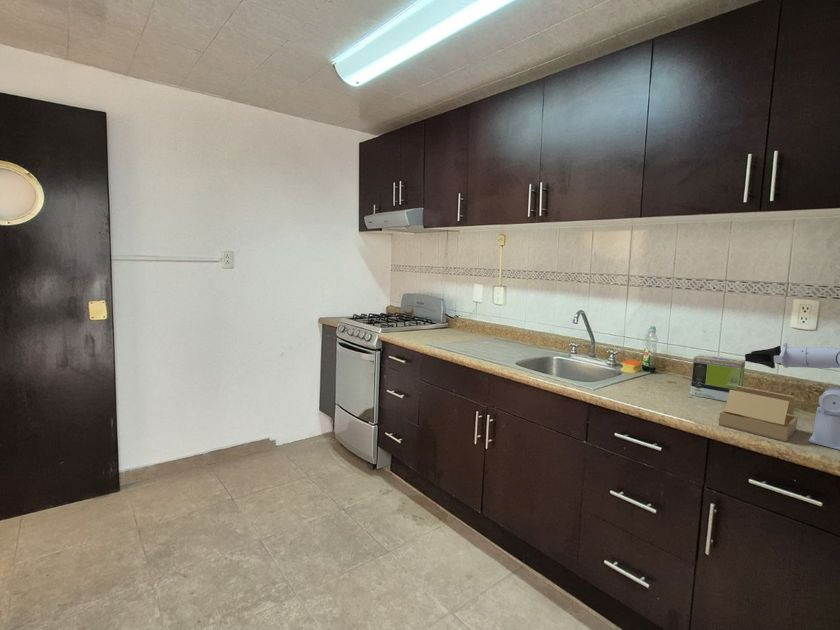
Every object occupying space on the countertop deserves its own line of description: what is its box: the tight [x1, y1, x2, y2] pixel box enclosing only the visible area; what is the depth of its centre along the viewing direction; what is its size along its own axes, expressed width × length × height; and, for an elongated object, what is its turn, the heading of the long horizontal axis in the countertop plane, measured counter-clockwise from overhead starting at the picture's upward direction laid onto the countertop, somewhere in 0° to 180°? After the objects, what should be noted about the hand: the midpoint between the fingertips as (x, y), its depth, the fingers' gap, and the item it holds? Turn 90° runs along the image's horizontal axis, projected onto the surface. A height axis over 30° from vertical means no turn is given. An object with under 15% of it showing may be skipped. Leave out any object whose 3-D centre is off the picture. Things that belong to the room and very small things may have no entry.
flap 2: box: [737, 386, 795, 416], centre depth 135 cm, size 14×7×1 cm
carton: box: [718, 408, 799, 443], centre depth 132 cm, size 16×15×4 cm
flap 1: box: [723, 390, 789, 425], centre depth 128 cm, size 14×7×1 cm
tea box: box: [690, 354, 746, 402], centre depth 163 cm, size 15×10×15 cm, turn 48°
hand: (748, 356), depth 134 cm, fingers open, 7 cm apart
